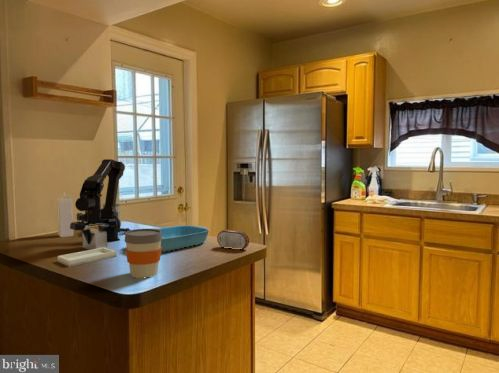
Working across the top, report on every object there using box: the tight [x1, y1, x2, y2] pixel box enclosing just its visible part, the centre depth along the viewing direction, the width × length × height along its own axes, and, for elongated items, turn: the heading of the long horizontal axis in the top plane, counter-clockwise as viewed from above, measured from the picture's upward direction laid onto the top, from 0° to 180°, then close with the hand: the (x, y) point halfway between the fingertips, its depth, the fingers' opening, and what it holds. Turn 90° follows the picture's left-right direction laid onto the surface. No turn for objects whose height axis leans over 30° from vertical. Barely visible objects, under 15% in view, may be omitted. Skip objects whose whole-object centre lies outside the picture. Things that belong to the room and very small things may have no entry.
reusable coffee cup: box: [124, 228, 162, 279], centre depth 132 cm, size 13×13×15 cm
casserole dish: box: [157, 224, 210, 253], centre depth 175 cm, size 37×22×7 cm, turn 138°
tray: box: [57, 247, 117, 268], centre depth 151 cm, size 19×10×2 cm, turn 139°
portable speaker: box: [217, 228, 250, 250], centre depth 169 cm, size 15×3×8 cm, turn 65°
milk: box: [56, 192, 74, 238], centre depth 192 cm, size 6×6×22 cm
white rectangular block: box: [81, 228, 108, 250], centre depth 167 cm, size 5×12×8 cm, turn 49°
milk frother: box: [102, 203, 131, 234], centre depth 202 cm, size 14×16×15 cm
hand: (94, 243), depth 167 cm, fingers closed on white rectangular block, 5 cm apart
